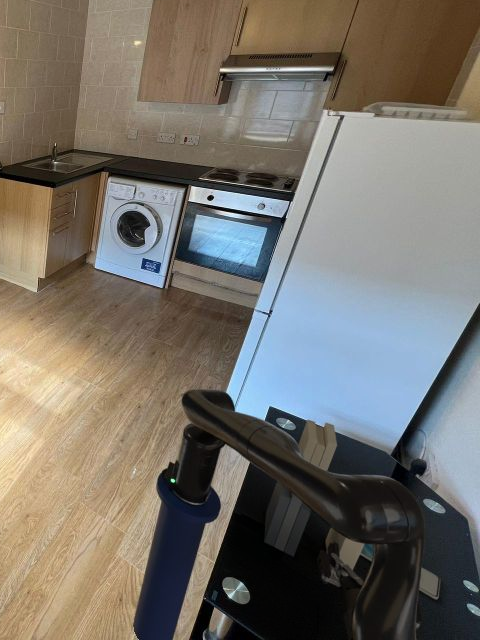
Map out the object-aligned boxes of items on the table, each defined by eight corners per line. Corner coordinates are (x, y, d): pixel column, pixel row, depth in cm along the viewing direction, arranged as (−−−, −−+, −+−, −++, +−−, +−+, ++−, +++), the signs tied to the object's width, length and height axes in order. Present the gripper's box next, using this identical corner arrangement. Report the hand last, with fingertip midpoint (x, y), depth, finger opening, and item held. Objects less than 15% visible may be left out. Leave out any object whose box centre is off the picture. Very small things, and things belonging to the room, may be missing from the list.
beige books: (293, 481, 119) (309, 435, 114) (292, 460, 127) (308, 416, 122) (318, 492, 116) (337, 445, 111) (316, 470, 123) (334, 425, 118)
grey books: (264, 542, 101) (281, 491, 96) (265, 513, 109) (282, 465, 104) (293, 556, 98) (313, 505, 93) (293, 526, 106) (311, 477, 100)
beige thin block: (328, 576, 94) (350, 525, 89) (325, 540, 102) (345, 492, 97) (345, 585, 92) (369, 533, 87) (341, 547, 100) (362, 498, 96)
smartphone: (438, 599, 89) (349, 545, 100) (437, 602, 89) (348, 548, 100) (441, 577, 93) (355, 528, 104) (439, 580, 94) (354, 531, 105)
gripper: (439, 646, 67) (416, 566, 79) (327, 588, 75) (322, 524, 87) (423, 674, 69) (402, 593, 81) (316, 615, 77) (312, 549, 89)
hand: (361, 557), depth 84 cm, fingers open, 8 cm apart
